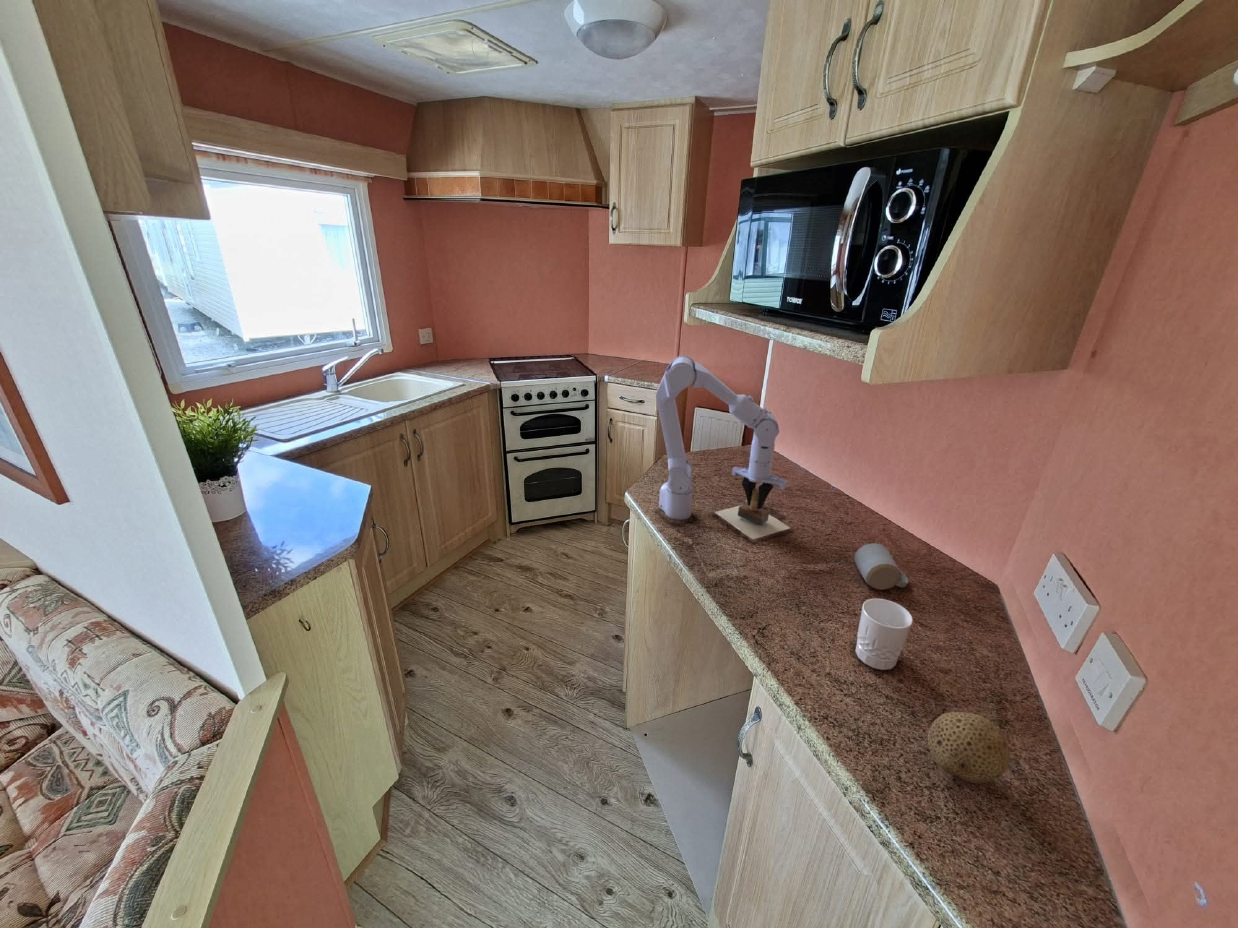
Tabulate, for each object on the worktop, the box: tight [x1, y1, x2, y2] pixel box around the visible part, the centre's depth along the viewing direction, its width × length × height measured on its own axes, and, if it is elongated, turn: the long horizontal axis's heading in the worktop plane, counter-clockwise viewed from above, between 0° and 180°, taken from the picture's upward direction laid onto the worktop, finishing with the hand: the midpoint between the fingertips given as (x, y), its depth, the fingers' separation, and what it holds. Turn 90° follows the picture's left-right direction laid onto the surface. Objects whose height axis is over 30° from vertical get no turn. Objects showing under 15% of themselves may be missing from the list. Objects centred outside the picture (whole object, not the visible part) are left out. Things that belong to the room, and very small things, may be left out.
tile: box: [714, 504, 791, 540], centre depth 134 cm, size 16×13×1 cm
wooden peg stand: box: [738, 487, 770, 525], centre depth 132 cm, size 7×4×8 cm, turn 44°
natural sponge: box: [927, 711, 1011, 784], centre depth 68 cm, size 9×9×10 cm
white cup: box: [855, 598, 914, 671], centre depth 88 cm, size 8×8×10 cm
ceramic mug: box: [853, 542, 909, 591], centre depth 109 cm, size 11×8×8 cm
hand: (755, 505), depth 132 cm, fingers closed on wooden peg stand, 2 cm apart
